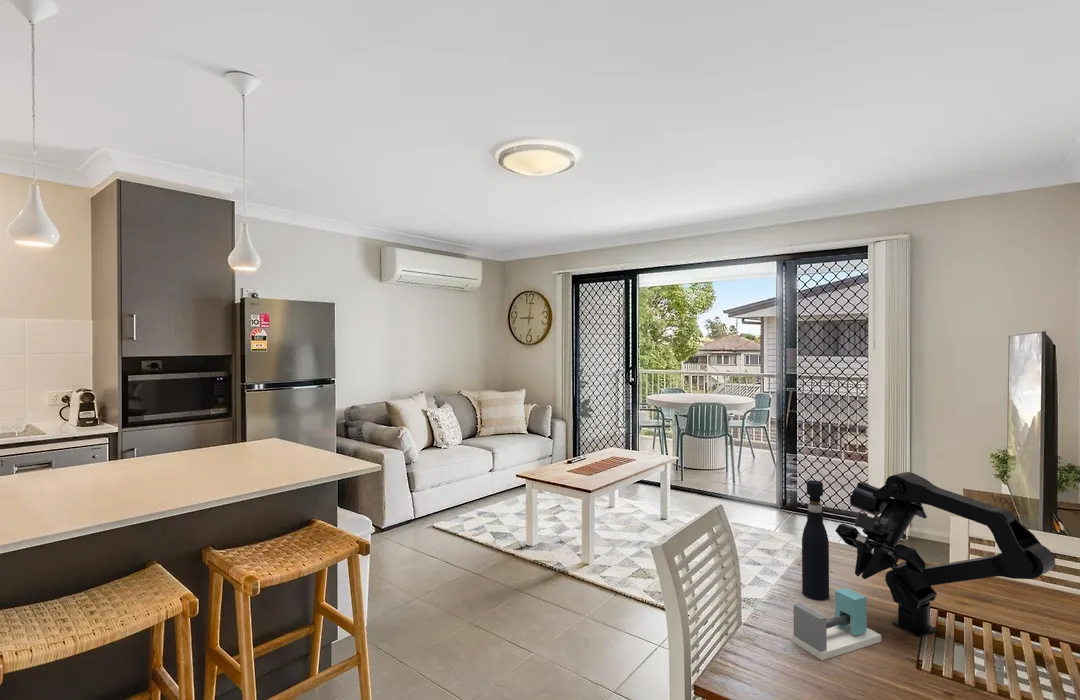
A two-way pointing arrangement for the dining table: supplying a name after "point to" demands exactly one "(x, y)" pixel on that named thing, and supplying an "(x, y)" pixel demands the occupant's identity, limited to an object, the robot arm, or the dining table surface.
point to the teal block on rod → (851, 609)
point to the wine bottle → (815, 548)
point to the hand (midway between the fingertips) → (859, 576)
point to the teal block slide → (827, 634)
